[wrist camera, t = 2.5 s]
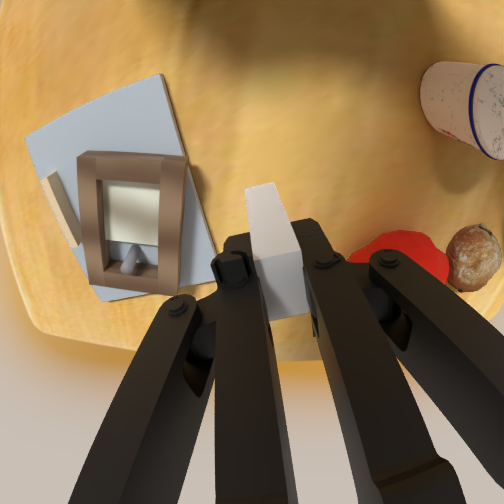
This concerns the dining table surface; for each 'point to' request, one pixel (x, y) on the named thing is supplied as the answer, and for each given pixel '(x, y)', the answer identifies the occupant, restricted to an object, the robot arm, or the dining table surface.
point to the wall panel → (124, 140)
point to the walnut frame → (132, 216)
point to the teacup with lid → (466, 104)
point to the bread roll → (473, 258)
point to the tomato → (409, 251)
